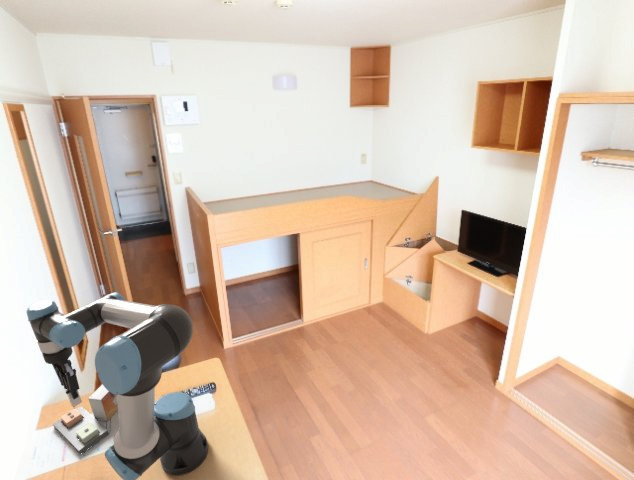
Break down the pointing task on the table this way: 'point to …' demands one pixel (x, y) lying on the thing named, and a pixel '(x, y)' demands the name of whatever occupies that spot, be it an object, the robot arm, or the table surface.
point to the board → (71, 431)
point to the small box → (103, 403)
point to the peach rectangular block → (71, 418)
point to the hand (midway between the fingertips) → (76, 403)
